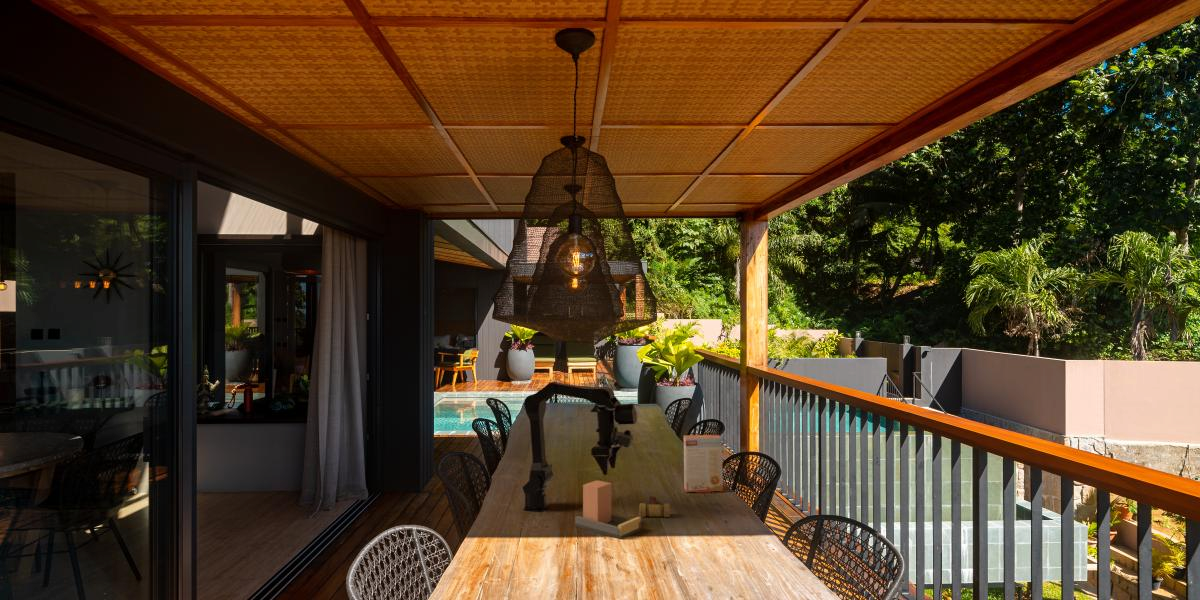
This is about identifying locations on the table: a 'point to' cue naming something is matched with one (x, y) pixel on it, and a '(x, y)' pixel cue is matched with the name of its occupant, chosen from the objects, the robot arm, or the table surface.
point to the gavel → (654, 509)
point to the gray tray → (611, 526)
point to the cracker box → (703, 463)
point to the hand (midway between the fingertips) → (609, 471)
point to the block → (597, 501)
